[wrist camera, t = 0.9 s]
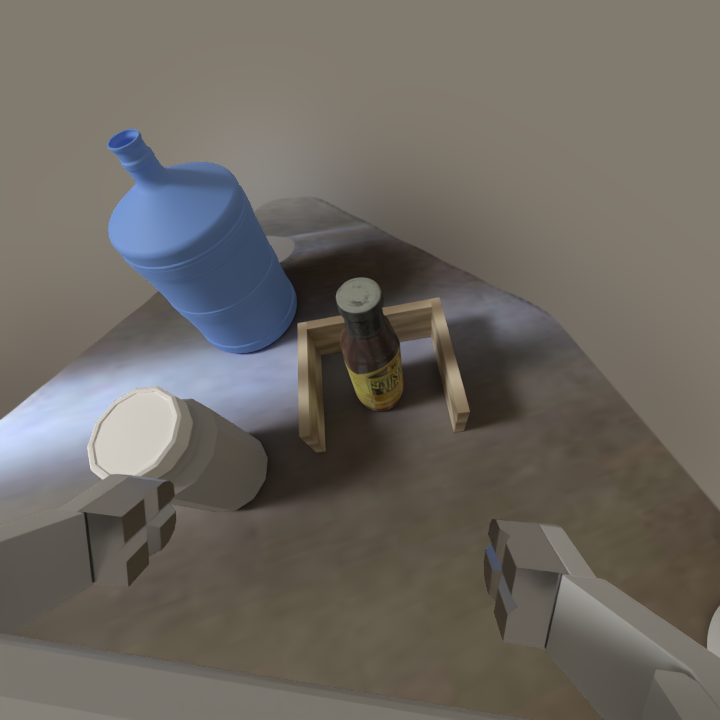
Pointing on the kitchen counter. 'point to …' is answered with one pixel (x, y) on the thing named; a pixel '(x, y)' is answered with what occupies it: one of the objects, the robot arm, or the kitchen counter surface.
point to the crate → (407, 325)
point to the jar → (179, 449)
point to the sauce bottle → (369, 345)
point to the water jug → (201, 248)
